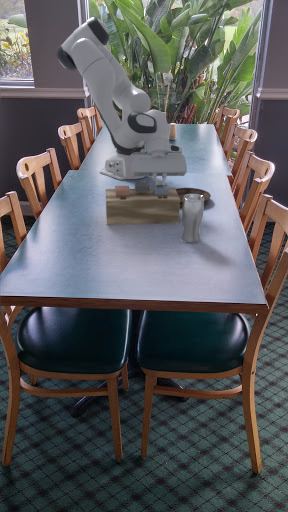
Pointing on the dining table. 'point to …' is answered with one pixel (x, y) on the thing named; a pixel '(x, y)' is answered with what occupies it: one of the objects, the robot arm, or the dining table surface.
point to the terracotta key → (122, 190)
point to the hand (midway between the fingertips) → (160, 185)
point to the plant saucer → (185, 191)
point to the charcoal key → (141, 186)
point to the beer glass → (192, 217)
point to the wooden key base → (142, 207)
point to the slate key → (161, 190)
